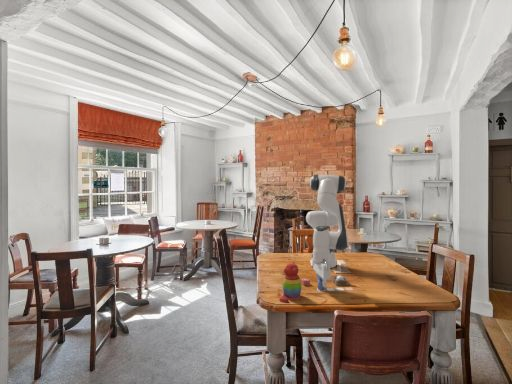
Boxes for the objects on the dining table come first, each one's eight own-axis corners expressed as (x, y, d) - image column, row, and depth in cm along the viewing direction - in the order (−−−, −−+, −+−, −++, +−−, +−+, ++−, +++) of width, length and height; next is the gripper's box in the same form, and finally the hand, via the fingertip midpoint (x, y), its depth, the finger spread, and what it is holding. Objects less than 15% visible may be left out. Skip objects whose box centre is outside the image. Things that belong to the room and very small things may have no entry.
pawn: (317, 288, 158) (317, 274, 158) (323, 288, 158) (324, 274, 158) (318, 290, 154) (318, 276, 154) (325, 290, 154) (325, 276, 154)
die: (300, 286, 166) (300, 278, 166) (306, 285, 167) (306, 278, 167) (303, 288, 162) (303, 280, 162) (310, 287, 163) (310, 280, 163)
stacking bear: (284, 294, 154) (284, 260, 153) (303, 296, 150) (303, 261, 150) (278, 301, 144) (278, 265, 143) (298, 304, 140) (298, 267, 140)
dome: (334, 282, 168) (334, 274, 168) (342, 282, 168) (342, 274, 168) (337, 285, 164) (337, 277, 164) (345, 285, 164) (345, 276, 164)
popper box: (331, 283, 169) (331, 276, 169) (343, 283, 170) (343, 276, 170) (336, 288, 162) (336, 280, 162) (348, 287, 163) (348, 280, 163)
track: (312, 289, 160) (312, 287, 160) (352, 288, 161) (352, 286, 161) (316, 295, 152) (316, 292, 152) (358, 293, 153) (358, 291, 153)
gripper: (333, 262, 145) (333, 290, 146) (321, 253, 166) (321, 277, 166) (321, 262, 145) (321, 290, 145) (310, 253, 165) (310, 278, 166)
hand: (321, 283), depth 156 cm, fingers open, 8 cm apart
